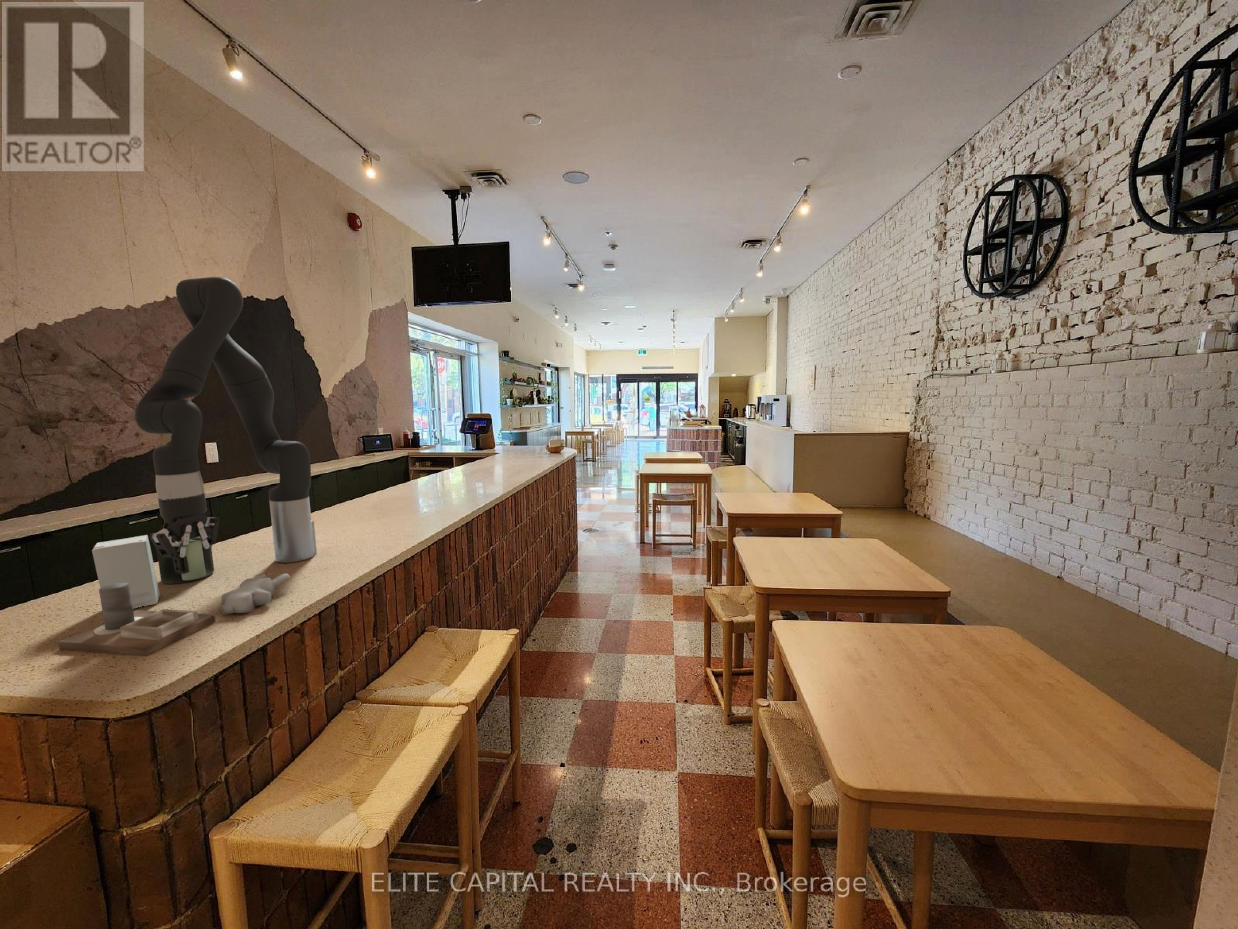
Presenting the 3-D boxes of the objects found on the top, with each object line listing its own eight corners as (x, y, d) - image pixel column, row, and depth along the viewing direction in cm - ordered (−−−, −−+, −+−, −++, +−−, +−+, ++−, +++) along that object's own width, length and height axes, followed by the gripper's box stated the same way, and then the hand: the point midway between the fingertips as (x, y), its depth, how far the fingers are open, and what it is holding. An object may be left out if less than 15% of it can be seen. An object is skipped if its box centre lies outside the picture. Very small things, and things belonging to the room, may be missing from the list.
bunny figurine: (205, 601, 99) (250, 567, 113) (210, 623, 100) (254, 586, 115) (255, 598, 100) (293, 565, 115) (259, 620, 101) (297, 585, 116)
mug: (146, 587, 116) (139, 538, 114) (189, 566, 130) (183, 522, 128) (197, 584, 118) (190, 536, 116) (234, 563, 132) (229, 521, 130)
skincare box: (160, 596, 111) (151, 533, 108) (157, 605, 106) (148, 540, 104) (107, 606, 105) (96, 540, 103) (102, 616, 101) (91, 547, 98)
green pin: (195, 572, 109) (189, 538, 108) (211, 573, 108) (205, 539, 107) (177, 579, 105) (171, 544, 104) (193, 580, 104) (188, 545, 103)
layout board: (138, 616, 100) (131, 573, 99) (215, 621, 98) (209, 577, 97) (59, 649, 88) (50, 599, 86) (146, 655, 85) (138, 605, 84)
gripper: (197, 486, 111) (208, 557, 114) (129, 500, 97) (143, 581, 100) (227, 486, 110) (237, 558, 113) (162, 501, 96) (175, 583, 99)
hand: (193, 568), depth 106 cm, fingers closed on green pin, 4 cm apart
